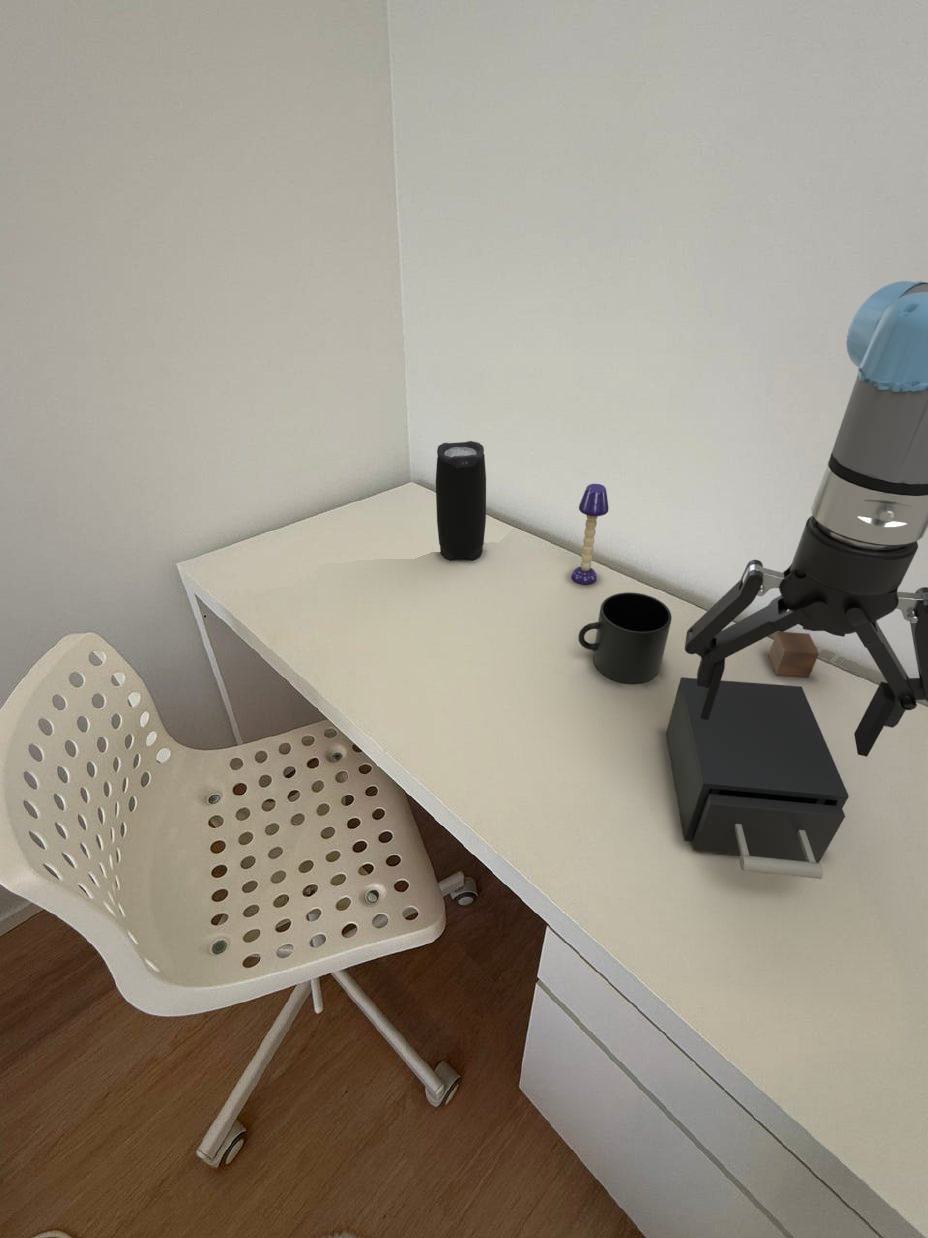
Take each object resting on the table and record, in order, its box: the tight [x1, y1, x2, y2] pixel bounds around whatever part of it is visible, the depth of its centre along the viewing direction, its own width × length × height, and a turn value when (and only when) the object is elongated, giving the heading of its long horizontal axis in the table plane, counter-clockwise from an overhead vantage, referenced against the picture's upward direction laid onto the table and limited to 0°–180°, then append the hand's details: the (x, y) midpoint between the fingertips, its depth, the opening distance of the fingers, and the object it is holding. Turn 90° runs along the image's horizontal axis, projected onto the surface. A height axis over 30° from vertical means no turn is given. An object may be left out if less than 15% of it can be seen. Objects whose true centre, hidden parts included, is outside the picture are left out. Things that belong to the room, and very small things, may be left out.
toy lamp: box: [571, 483, 609, 585], centre depth 105 cm, size 5×5×17 cm
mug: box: [577, 591, 672, 685], centre depth 90 cm, size 9×12×9 cm
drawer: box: [692, 789, 846, 880], centre depth 68 cm, size 19×12×8 cm, turn 173°
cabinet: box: [665, 676, 850, 843], centre depth 72 cm, size 16×14×10 cm
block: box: [767, 631, 820, 679], centre depth 90 cm, size 4×4×4 cm
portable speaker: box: [435, 440, 487, 561], centre depth 112 cm, size 9×9×20 cm
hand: (780, 727), depth 61 cm, fingers open, 13 cm apart
